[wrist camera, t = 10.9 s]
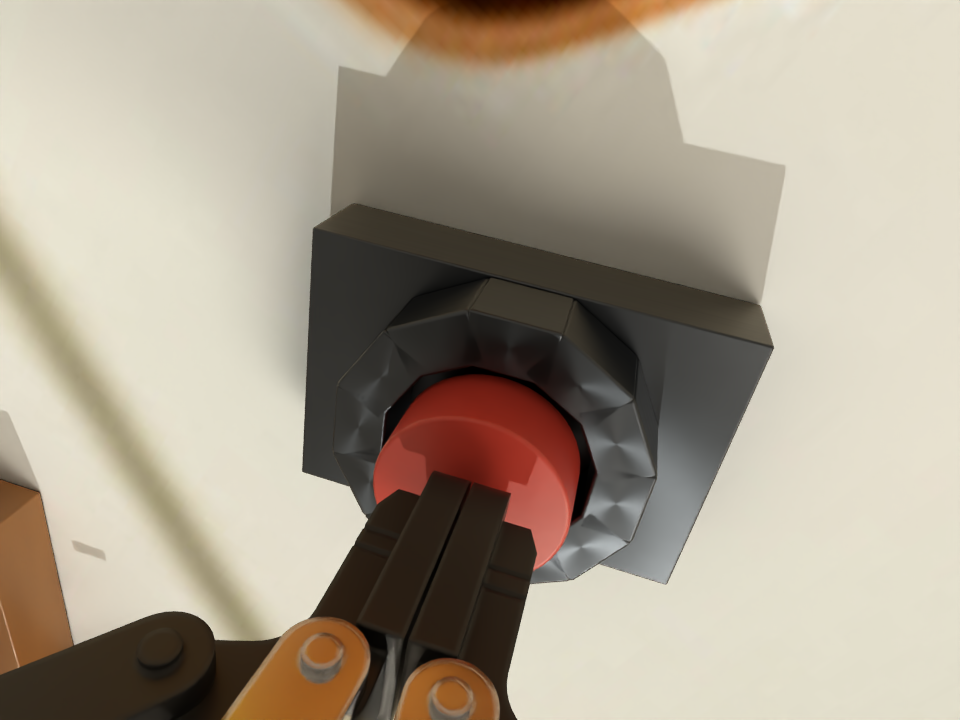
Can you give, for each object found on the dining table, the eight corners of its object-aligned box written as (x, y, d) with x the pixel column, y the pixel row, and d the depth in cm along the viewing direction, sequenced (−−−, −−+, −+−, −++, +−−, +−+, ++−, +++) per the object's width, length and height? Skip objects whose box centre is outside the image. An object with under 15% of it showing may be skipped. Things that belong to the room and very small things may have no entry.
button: (392, 495, 16) (364, 546, 14) (412, 350, 14) (381, 392, 12) (556, 546, 15) (545, 605, 14) (602, 402, 13) (594, 454, 12)
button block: (335, 428, 20) (267, 516, 16) (352, 202, 16) (269, 254, 13) (666, 527, 19) (667, 644, 15) (761, 304, 15) (789, 391, 12)
